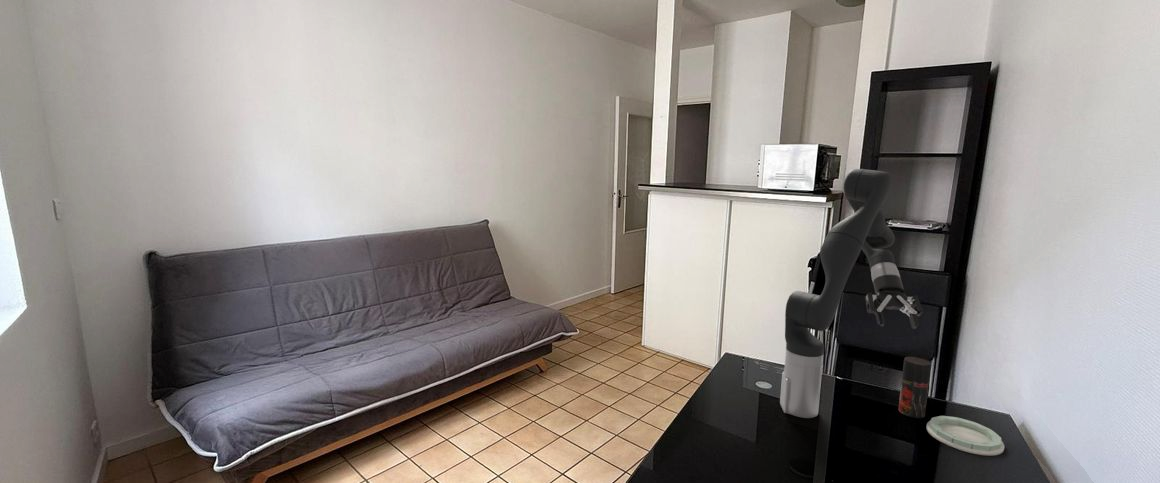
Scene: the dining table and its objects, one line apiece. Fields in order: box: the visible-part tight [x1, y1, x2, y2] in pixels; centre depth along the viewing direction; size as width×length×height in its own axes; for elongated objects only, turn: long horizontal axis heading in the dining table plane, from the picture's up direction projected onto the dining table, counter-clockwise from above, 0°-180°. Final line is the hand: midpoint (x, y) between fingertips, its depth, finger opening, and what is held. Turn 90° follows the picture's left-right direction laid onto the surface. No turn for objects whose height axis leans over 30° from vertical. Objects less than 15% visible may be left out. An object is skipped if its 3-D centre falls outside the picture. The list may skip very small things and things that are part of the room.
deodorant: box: [898, 356, 932, 419], centre depth 127 cm, size 6×6×15 cm
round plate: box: [926, 415, 1005, 457], centre depth 116 cm, size 15×15×2 cm
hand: (898, 326), depth 137 cm, fingers open, 8 cm apart
